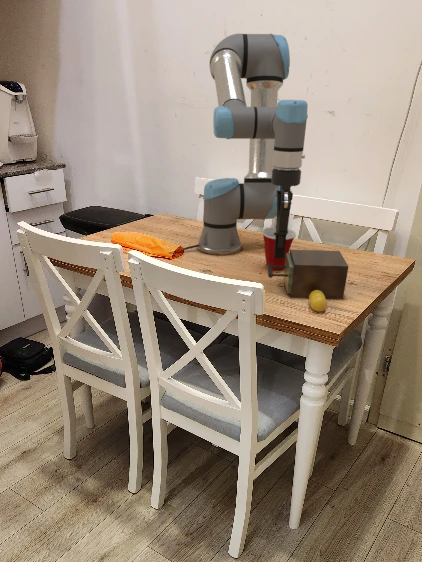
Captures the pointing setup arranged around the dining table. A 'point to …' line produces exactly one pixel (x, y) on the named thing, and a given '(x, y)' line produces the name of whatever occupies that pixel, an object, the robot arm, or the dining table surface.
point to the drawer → (287, 272)
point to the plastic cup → (270, 246)
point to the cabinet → (318, 273)
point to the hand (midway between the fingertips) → (278, 257)
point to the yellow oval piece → (317, 300)
